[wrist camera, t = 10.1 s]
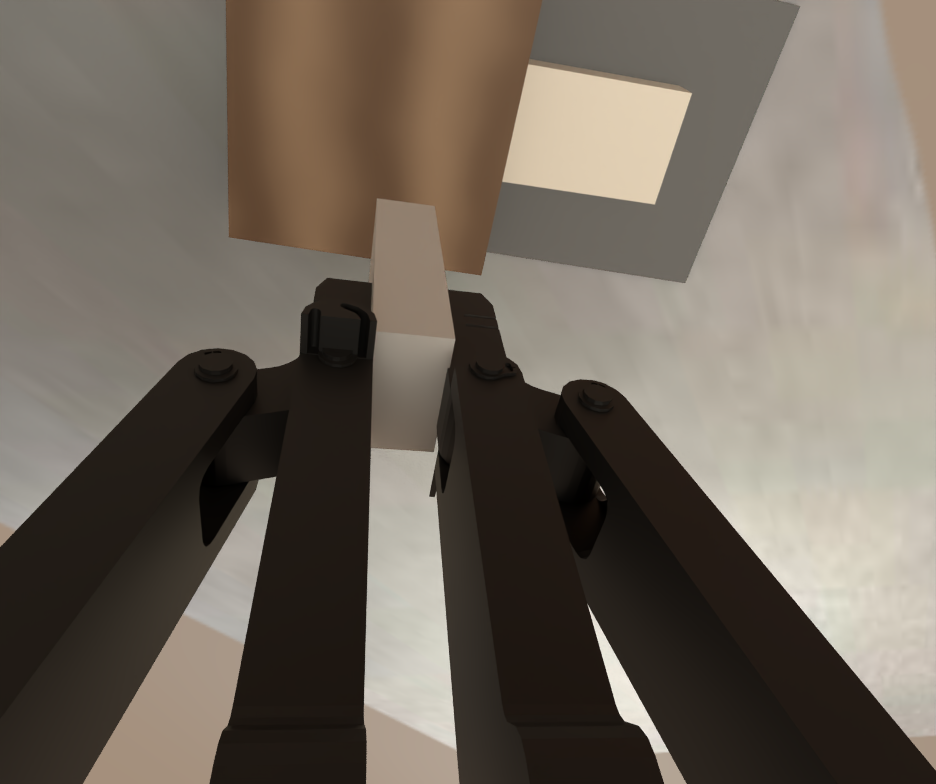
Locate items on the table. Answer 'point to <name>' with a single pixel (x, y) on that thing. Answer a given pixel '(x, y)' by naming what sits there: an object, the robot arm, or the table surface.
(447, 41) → the deck
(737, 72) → the mat
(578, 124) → the tile
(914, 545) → the table surface
